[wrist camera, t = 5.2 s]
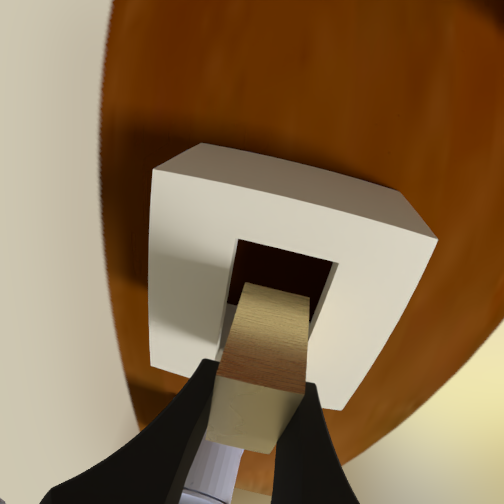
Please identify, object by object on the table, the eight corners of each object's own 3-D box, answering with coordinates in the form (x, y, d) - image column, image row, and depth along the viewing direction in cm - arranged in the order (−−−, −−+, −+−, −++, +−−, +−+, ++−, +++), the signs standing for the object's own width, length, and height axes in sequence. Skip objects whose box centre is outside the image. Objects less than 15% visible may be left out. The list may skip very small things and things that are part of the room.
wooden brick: (281, 369, 14) (269, 454, 10) (229, 357, 14) (205, 439, 11) (309, 297, 12) (304, 394, 8) (245, 282, 12) (215, 375, 8)
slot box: (338, 340, 21) (341, 410, 16) (183, 303, 22) (150, 365, 17) (399, 191, 16) (438, 239, 11) (201, 142, 16) (152, 169, 11)
